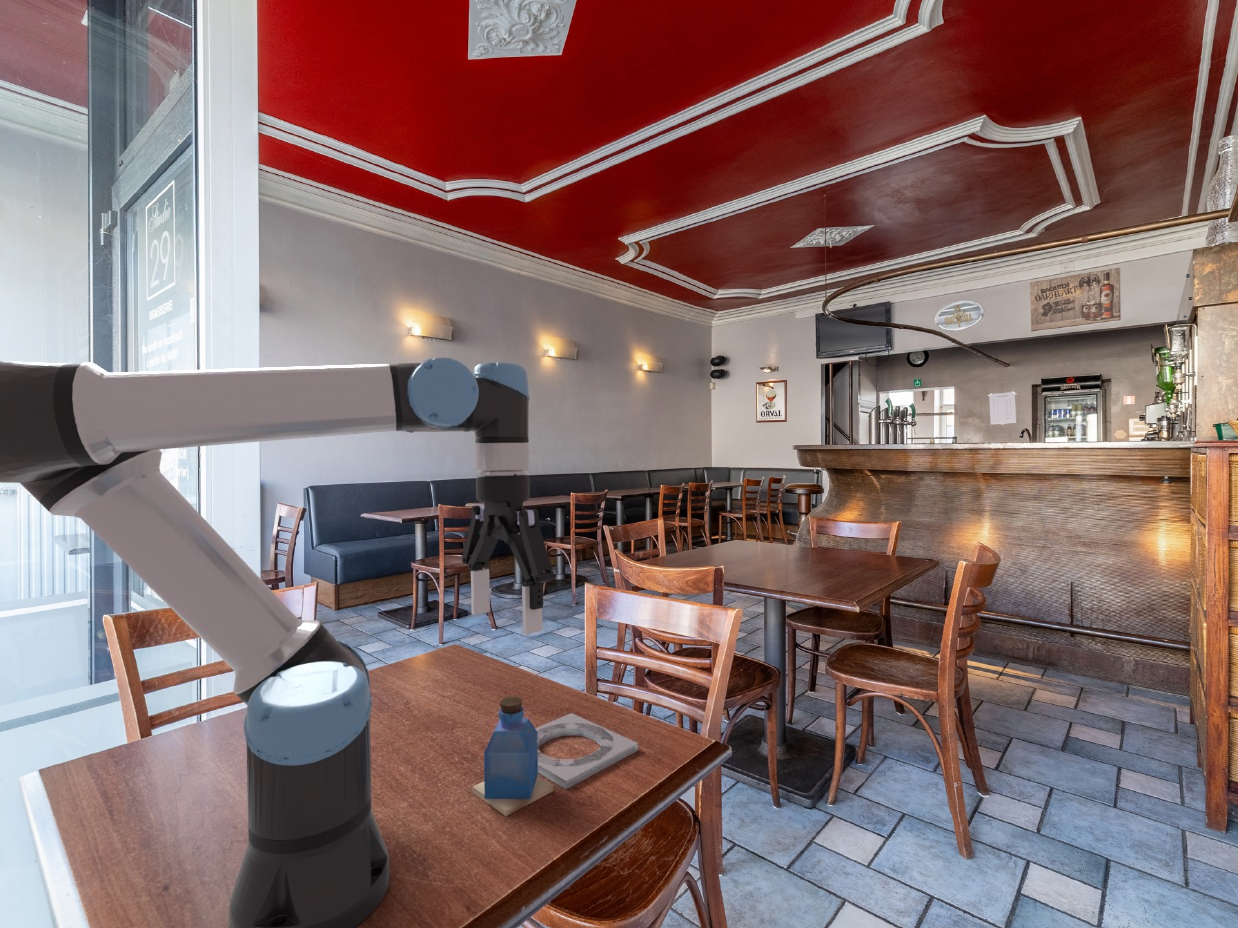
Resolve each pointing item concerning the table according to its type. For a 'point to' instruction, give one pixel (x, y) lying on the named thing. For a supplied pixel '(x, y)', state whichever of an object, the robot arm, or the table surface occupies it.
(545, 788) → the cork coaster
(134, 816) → the table surface
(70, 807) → the table surface
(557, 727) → the eye plate
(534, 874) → the table surface
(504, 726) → the perfume bottle
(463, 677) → the table surface
